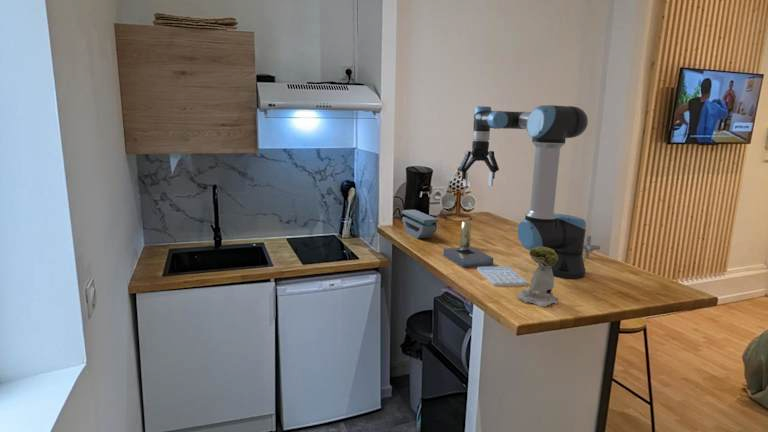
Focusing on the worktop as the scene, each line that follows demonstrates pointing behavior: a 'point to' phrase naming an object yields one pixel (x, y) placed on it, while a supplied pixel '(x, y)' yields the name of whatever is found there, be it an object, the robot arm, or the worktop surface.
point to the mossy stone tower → (541, 278)
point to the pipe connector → (589, 247)
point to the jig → (468, 257)
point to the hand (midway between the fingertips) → (477, 186)
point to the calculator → (502, 276)
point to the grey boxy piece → (419, 224)
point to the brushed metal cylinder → (465, 234)
